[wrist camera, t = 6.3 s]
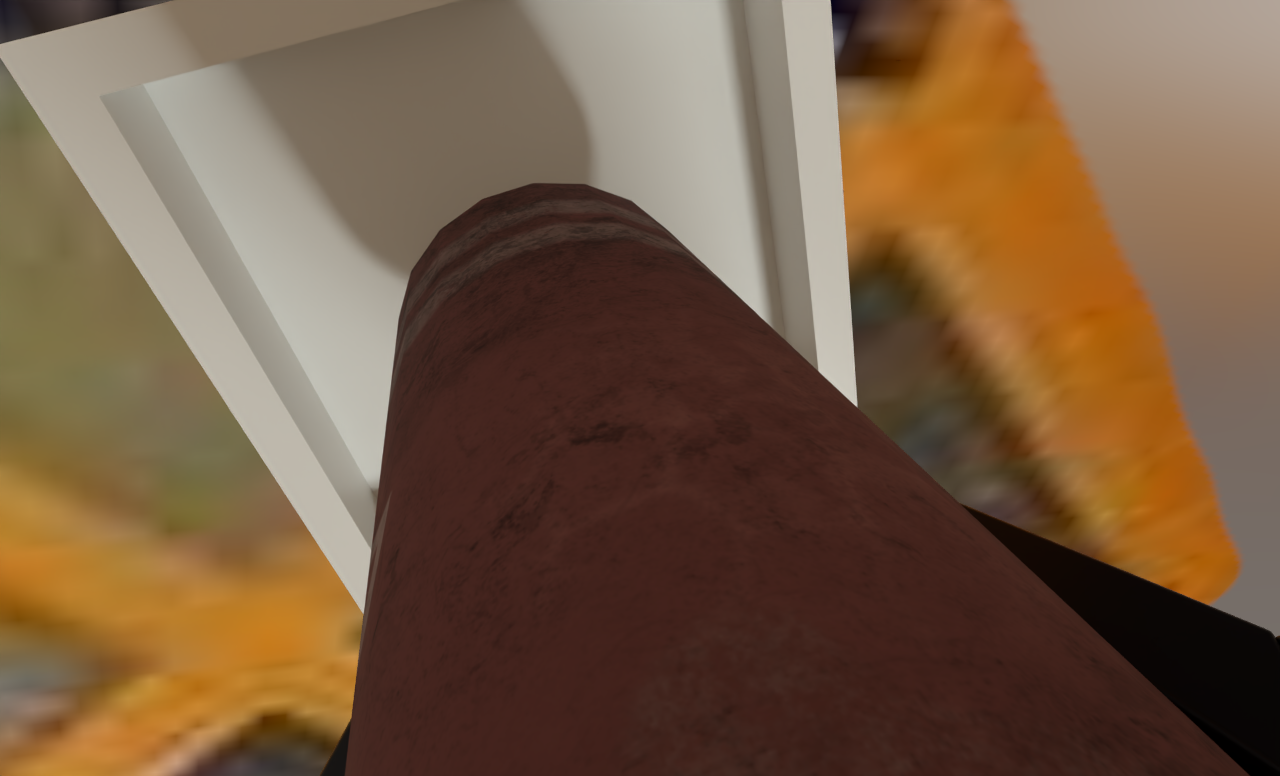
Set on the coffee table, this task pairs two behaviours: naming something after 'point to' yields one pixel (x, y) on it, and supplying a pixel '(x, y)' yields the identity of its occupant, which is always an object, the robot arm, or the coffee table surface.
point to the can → (689, 546)
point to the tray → (430, 179)
